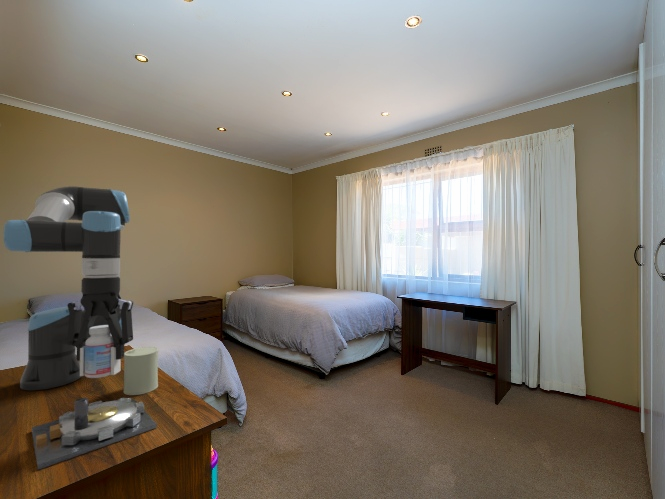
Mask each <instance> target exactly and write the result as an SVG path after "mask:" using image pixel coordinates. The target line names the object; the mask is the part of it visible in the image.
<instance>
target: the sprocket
mask: <svg viewBox="0 0 665 499" xmlns="http://www.w3.org/2000/svg"><path fill="white" fill-rule="evenodd" d="M131 399H132V398H131V397H120V398H119V399H117V400H109V401H105V402H103V400H98V401H95V402H90V403H89V398H88V397H81V398H78V399H76V400H74V410H73V411H71V410H70V411H67V412H65V413H63V414H61V415H60V416H59V417H58V420H59V424H57V425H54V426H50V440H51V439H54V438H57V437H61V438H62V445H75V444H76V443H77V442H79V441H83V440H90V439H95V438H98V440H99V441H100V440H104V439H107V438H110V437H113V433H114V432H116V431H119V430H121V429H123V428H124V427H126V426H134V425H136V424H137V423H138V422H139V421H140V413H143V412H144V410H145V404H144V402H143V401H139V402H138V401H137V402H138V403H133V402H131Z"/></svg>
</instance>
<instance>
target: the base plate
mask: <svg viewBox="0 0 665 499" xmlns="http://www.w3.org/2000/svg"><path fill="white" fill-rule="evenodd" d="M131 402H133V403H138V400H136V398H131ZM149 414H150V413H148V412H147V411H146V410H145V409H144V412H143V413H140V421H139V422H138V423H137V424H136V425H134V426H126V427H124V428H123V429H121V430H119V431H116V432H114V433H113V437H110V438H107V439H104V440H100V441H99V440H98V438H95V439H90V440H83V441H79V442H77V443H76V444H75V445H62V438H61V437H57V438H54V439H51V440H50V426H54V425H57V424H59V419H57V420H54V421H50V422H46V423H43V424H38V425H35V426H32V427H31V435H32V440H33V441H32V442H33V448H34V455H35V459H36V460H35V461H36V467H37V471H39V470H42V469H45V468H47V467H50V466H54V465H55V464H59V463H62V462H64V461H68V460H70V459H73V458H77V457H79V456H81V455H84V454H87V453H90V452H92V451H93V452H94V451H96V450H98V449H100V448H104V447H107V446H109V445H112V444H114V443H119V442H121V441H124V440H126V439H130V438H132V437H135V436H138V435H141V434H143V433H146V432H149V431H152V430H155V429H157V428H158V424H157V422H156V421H155V420H154V418H152V417H151V415H149Z"/></svg>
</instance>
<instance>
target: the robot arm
mask: <svg viewBox="0 0 665 499" xmlns="http://www.w3.org/2000/svg"><path fill="white" fill-rule="evenodd" d="M34 207H35V208H34V210H33V211H32V212H31V214H30V215H29V216H28V218H27V219H9V220H8V221H6V222H5V224H4V227H3V243H4V247H5V248H6V249H7V250H8V251H11V252H25V253H43V252H44V253H47V252H48V253H50V252H51V253H52V252H53V253H55V252H56V253H59V252H60V253H61V252H62V253H65V252H68V253H69V252H71V253H72V252H73V253H74V252H75V253H76V252H77V253H82V254H81V255H82V256H81V275H82V276H84V277H83V278H82V279H81V293H82V297H81V298H80V300H79V301H78V300H77V301H71V302H69V303H67V306H61V307H56V308H52V309H51V308H50V309H47V310H43V311H38V312H36V313H34V314H32V315H31V316H30V317H29V320H28V328H27V331H28V349H27V350H28V352H27V354H28V355H27V357H28V358H27V363H26V366H25V367H24V370H23V373H22V375H21V378H20V383H19V387H20V390H23V391H43V390H48V389H53V388H57V387H62V386H65V385H67V384H72V383H73V382H75V381H77V380H79V379H81V378H82V377H84V376H85V342H86V340H87V339H88V338H89V337H91V335H89V328H91V327H94V326H100V325H108V327H109V330H110V333H111V336H112V339H113V342H114V344H115V345H113V347H111V376H115V375H117V374H118V373H119V372H121V370H122V369H121V368H122V367H121V363H122V362H121V361H122V359H123V358H124V353H125V346H126V344H128V343H129V342H133V340H134V333H133V332H134V331H133V329H134V328H133V317H132V313H133V312H132V309H133V306H134V301H133V300H124V299H122V297H121V296H120V294H121V293H120V291H121V277H120V275H121V236H122V235H121V234H122V233H121V231H123V229H125V227H126V224H128V223H130V221H131V220H130V211H129V210H130V209H129V203H128V197H127V195H126V192H123V191H122V190H121V191H120V190H115V189H111V188H109V189H107V188H95V187H94V188H93V187H83V186H82V187H81V186H74V185H73V186H71V185H70V186H62V187H56V188H53V189H50V190H47V191H45V192H43V193H42V194H41V195H39V197H38V198H37V199H36V201H35V204H34ZM67 220H68V221H67ZM69 220H70V221H69ZM71 221H72V222H71ZM74 221H76V222H74ZM77 221H81V222H77Z"/></svg>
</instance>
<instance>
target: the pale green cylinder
mask: <svg viewBox="0 0 665 499" xmlns="http://www.w3.org/2000/svg"><path fill="white" fill-rule="evenodd" d="M123 358H124V359H123V360H124V362H123V364H124V365H123V367H124V368H123V370H124V371H123V373H124V375H123V394H124V395H126V396H140V395H144V394H148V393H151V392H152V391H155V390H157V388H158V387H159V379H158V374H159V372H158V371H159V370H158V368H159V365H158V363H159V361H158V360H159V348H158V347H155V346H144V347H143V346H142V347H136V348H132V349H129V350H127V351H124V357H123Z"/></svg>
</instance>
